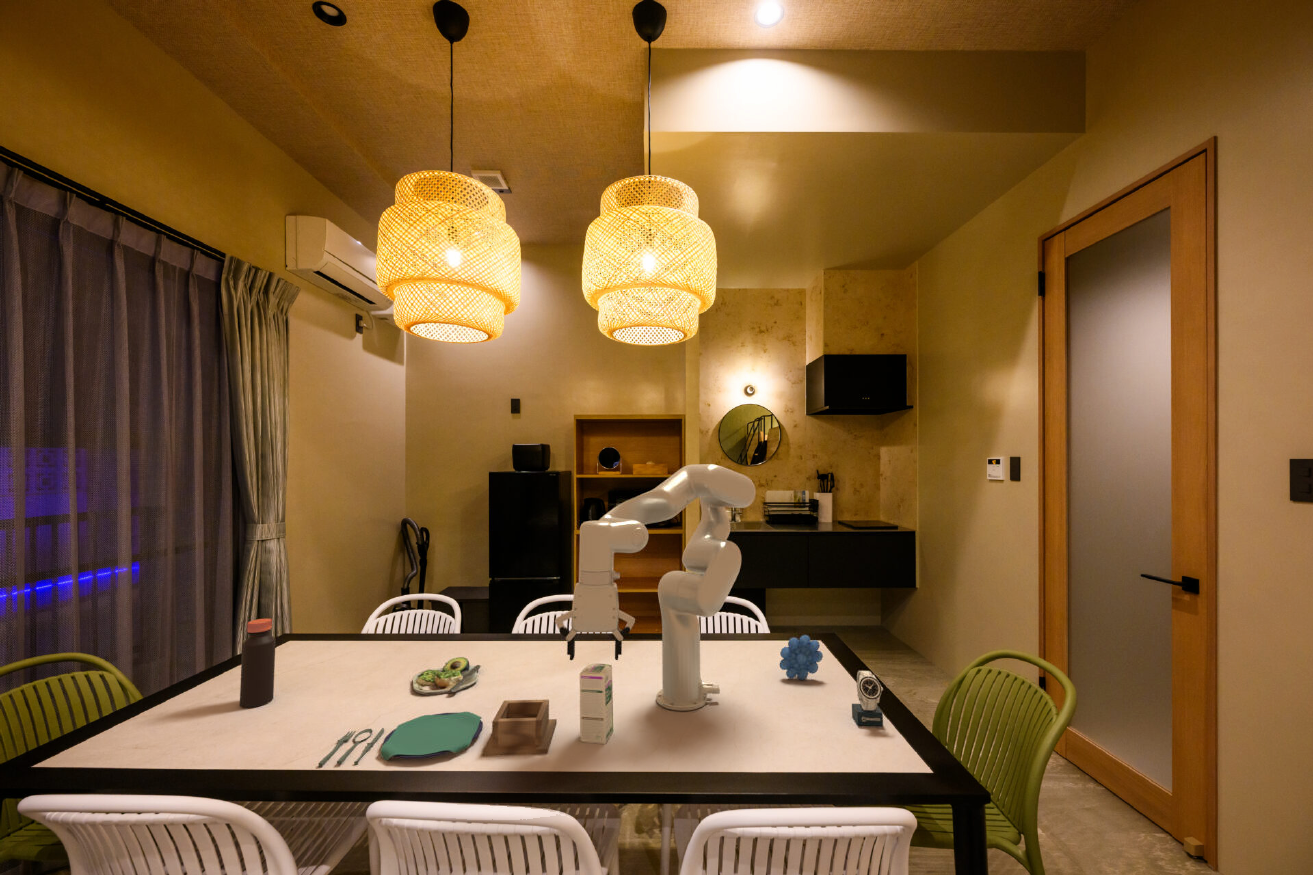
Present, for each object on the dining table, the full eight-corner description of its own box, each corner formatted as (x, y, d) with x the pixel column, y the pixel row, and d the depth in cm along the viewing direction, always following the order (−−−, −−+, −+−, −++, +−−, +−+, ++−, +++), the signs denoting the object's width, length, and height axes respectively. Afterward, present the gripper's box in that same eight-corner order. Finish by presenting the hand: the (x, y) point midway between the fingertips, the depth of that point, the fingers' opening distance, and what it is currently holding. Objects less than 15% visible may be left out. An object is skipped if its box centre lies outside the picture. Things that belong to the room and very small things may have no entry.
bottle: (276, 702, 133) (279, 620, 134) (242, 711, 128) (245, 626, 129) (269, 694, 138) (272, 615, 139) (236, 703, 133) (240, 621, 134)
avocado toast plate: (486, 693, 139) (486, 674, 139) (410, 705, 132) (411, 686, 132) (479, 667, 156) (480, 651, 157) (413, 677, 149) (413, 660, 150)
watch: (860, 730, 117) (858, 679, 117) (850, 713, 125) (848, 665, 125) (886, 731, 116) (884, 679, 117) (874, 714, 124) (873, 666, 125)
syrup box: (605, 744, 111) (605, 673, 112) (579, 741, 113) (579, 671, 113) (613, 731, 117) (613, 663, 118) (587, 729, 118) (587, 662, 119)
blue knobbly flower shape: (820, 674, 149) (819, 630, 150) (825, 683, 142) (824, 638, 143) (777, 672, 150) (776, 629, 151) (781, 682, 143) (780, 636, 144)
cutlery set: (472, 761, 105) (472, 749, 105) (309, 777, 101) (309, 764, 101) (490, 717, 125) (490, 707, 125) (354, 728, 121) (354, 718, 121)
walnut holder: (556, 723, 121) (556, 696, 121) (547, 753, 108) (547, 723, 108) (498, 725, 120) (498, 697, 121) (482, 755, 107) (482, 725, 108)
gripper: (635, 574, 121) (634, 652, 119) (558, 574, 120) (556, 652, 119) (635, 581, 113) (634, 663, 112) (553, 581, 113) (551, 664, 111)
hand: (594, 658), depth 115 cm, fingers open, 9 cm apart
